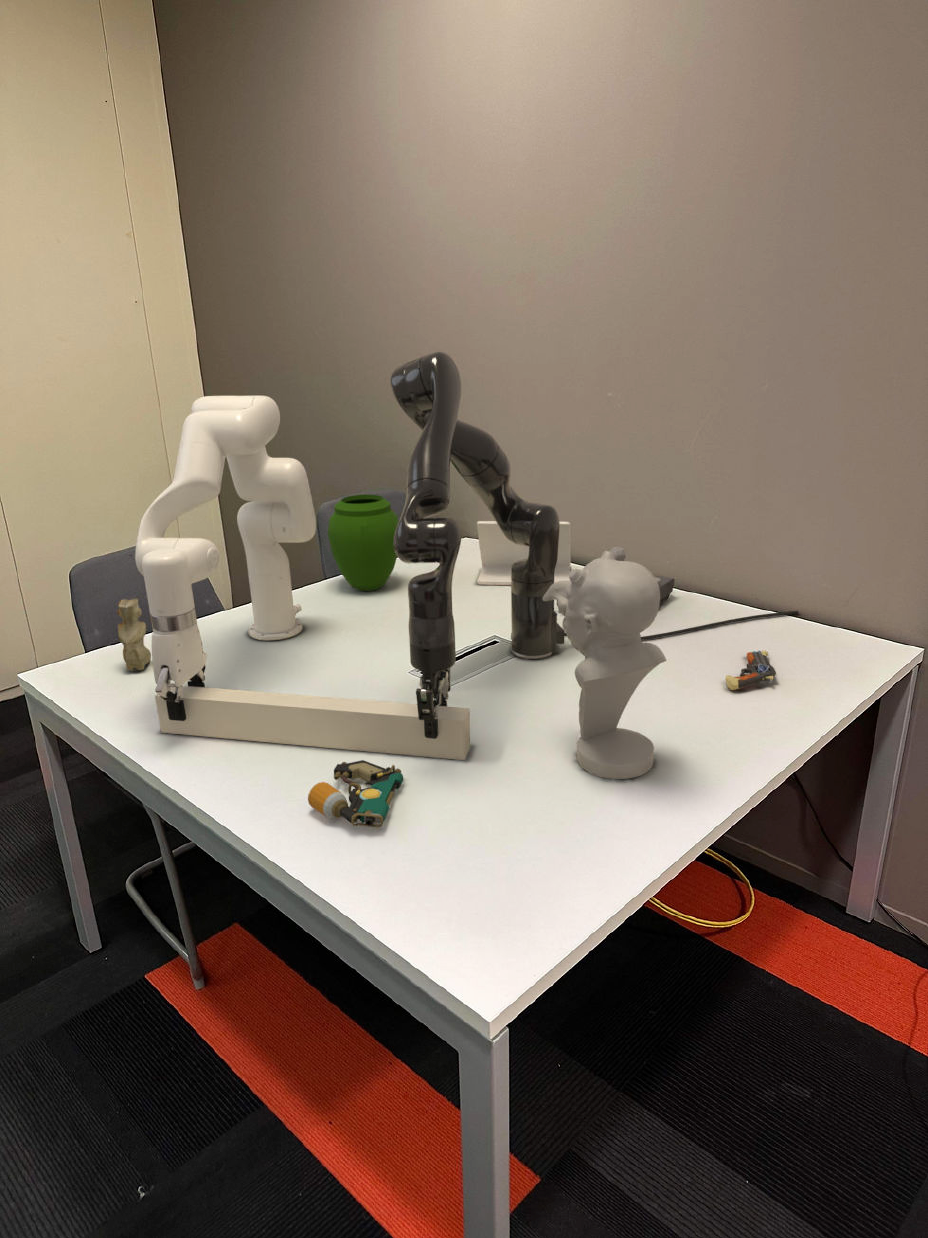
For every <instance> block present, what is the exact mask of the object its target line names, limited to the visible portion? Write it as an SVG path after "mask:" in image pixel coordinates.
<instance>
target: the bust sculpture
mask: <svg viewBox="0 0 928 1238" xmlns="http://www.w3.org/2000/svg"><path fill="white" fill-rule="evenodd" d="M594 559H595V558H594ZM594 559H593V560H592V562H591V561H590V562H588V563H587V564H586V565H585V566H584V567H583V568H582V569H581V568H580V569H578V568H573V569H570V573H569V578H570V581H568V580H563V581H557V582H555V583H554V584H552V585H551V586H550V588H549V589H548V591H547V592H546V594H545V595H544V596H543V601H550V600H554V601H555V600H556V602H557V601H558V606H557V609H558V611H559V612H560V614H561V615H562V616H564V618H563V619H562V622H561V623H562V625H561V627H562V629H563V630H564V631H565V633H566V635H567V636H566V638H567V639H568V641H570V643H571V645H572V646H573V647H574V648H575V649H576V650H577V651H578V652H579V653H580V654H581V655H582V656H584V659H582V661H580V662H579V663H578V664H577V665H576V667H575V669H574V677H575V679H576V682H577V684H578V686H579V687H580V689H581V690H580V694H579V701H578V709H579V710H578V723H579V728H580V729H579V733H580V737H579V738H578V740H577V742H576V761H577V763H578V765H579V766H580V767H581V769H583V770H585V771H586V772H587V773H589V774H592V775H595V776H598V777H601V778H606V779H613V780H624V779H625V780H626V779H632V778H633V779H634V778H637V777H640V776H642V775H644V774H646V773H648V772H649V771H650V770H651V769H652V768H653V766H654V757H655V745H654V743H653V742H652V740H650V738H649V737H647V736H646V735H644V734H642V733H641V732H638V731H635V730H631V729H628V728H622V727H618V725H619V722H620V720H621V717H622V715H623V713H624V711H625V710H626V707H627V705H628V703H629V702H630V699H631V698H632V696H633V695H634V693H635V691H636V690H637V688H638V687H639V685H640V684H641V683H642V681H643V680H644V679H645V677H647V675H648V674H649V673H651V672H652V671H653V670H654V669H655V668H657V667H658V666H660V665H661V664H662V663H664V662H667V658H666V656H665V654H664V652H663V651H662V649H661V648H660V647H659V645H657V644H654V643H651V642H643V640H641V637H642V636H641V633H643V632H644V631H646V630H647V629H648V628H649V627H650V626H652V624H653V623H654V621H655V619H656V617H657V615H658V613H659V608H660V605H661V604H660V589H659V585H658V583H657V581H656V579H655V577H656V576H654V575H653V573H652V572H651V571H650V570H649V569H648V568H647V567H645V566H644V565H642V564H641V563H637V562H634V561H627V560H624V561H617V560H615V557H614V555H613V553H612V552H610V550H604V551H603V552H602V555H601V557H599V558H597V557H596V559H595V560H594ZM659 604H660V605H659Z"/></svg>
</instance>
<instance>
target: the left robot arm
mask: <svg viewBox="0 0 928 1238" xmlns="http://www.w3.org/2000/svg"><path fill="white" fill-rule="evenodd" d="M190 410H191V413H190V414H189V415H188V416H187V417H186V418H185V420H184V422H183V424H182V429H181V435H180V440H179V446H178V452H177V457H176V463H175V467H174V468H175V469H174V476H173V480H172V482H171V484H170V485H168V487H167V488H165V489H164V490H163V491H162V492H161V493H160V494H159V495H158V496H157V497H156V498H155V499H154V500H153V501H152V502H151V504H150V505H149V506H148V508H147V509H146V511H145V512H144V513H143V516H142V518H141V520H140V524H139V527H138V533H137V538H136V545H135V554H134V557H135V565H136V569H137V570H138V573H140V574H141V575H142V576H143V580H144V586H145V592H146V599H147V603H148V609H149V615H150V621H151V627H152V628H151V629H152V634H151V660H152V670H153V676H154V677H153V678H154V682H155V685H156V686H155V690H154V691H155V693H156V694H159V695H160V696H161V698H163V700H164V701H166V705H167V711H168V717H169V719H170V720H176V721H185V720H186V713H185V707H184V701H183V700H181V691H182V686H184V684H186V683H187V686H192V687H204V688H206V685H205V681H206V675H205V672H206V664H207V659H208V654H207V653H206V652H205V651H204V646H203V640H202V636H201V632H200V629H199V625H198V619H197V613H196V607H195V606H196V605H195V600H194V594H193V592H194V591H193V587H192V585H193V584H195V583H198V582H202V581H204V580H206V579H208V578H210V577H211V576H212V575H213V574H215V572H216V570H217V568H218V566H219V562H220V554H219V550H218V548H217V546H216V545H215V543H214V542H212V541H211V540H209V539H206V538H201V537H164V536H165V533H166V532H167V529H168V528H169V526H171V524H172V523H173V522H174V521H176V520H177V519H178V518H179V517H181V516H183V515H184V514H187V513H188V512H190V511H192V510H194V509H196V508H199V507H201V506H203V505H206V504H208V503H209V502H211V501H214V500H215V499H216V498H217V497H218V496H219V495H220V493H221V488H222V480H223V474H224V468H225V463H226V460H227V464H228V469H229V472H230V476H231V479H232V484H233V487H234V489H235V491H236V494H237V496H238V497H239V498H240V499H241V500H244V501H247V502H246V503H244V504H243V505H241V506H240V508H239V509H238V511H237V514H236V522H237V528H238V532H239V535H240V538H241V541H242V544H243V549H244V554H245V560H246V566H247V576H248V583H249V591H250V599H251V600H250V601H251V608H252V615H253V624H251V625H250V626H249V627H248V635H249V637H251V638H253V639H255V640H259V641H278V640H279V641H281V640H285V639H289V638H291V637H294V636H296V635H298V634H300V633H301V632H302V630H303V623H302V622H301V621H300V620H299V619H296V615H297V614H298V613H300V612H301V611H302V610H303V609H302V606H301V604H299V603H296V604H295V605H294V596H293V587H292V578H291V577H292V576H291V567H290V559H289V557H288V555H287V553H286V551H285V549H284V548H283V547H282V546H281V544H283V543H286V544H287V543H288V544H296V543H298V544H299V543H307V542H309V541H311V540H312V539H313V538H314V537H315V534H316V531H317V519H316V512H315V508H314V507H315V506H314V502H313V497H312V493H311V488H310V483H309V479H308V474H307V471H306V469H305V467H304V465H303V464H302V462H300V460H298V459H296V458H293V457H271V456H270V455H269V454H268V452H267V449H266V446H267V445H268V443H269V442H271V441H272V440H273V438H275V436H276V435H277V433H278V432H279V427H280V424H281V413H280V409H279V406H278V404H277V403H276V401H275V400H274V399H273V398H271V397H270V396H268V395H206V396H201V397H198V398H197V399H195V400H194V402H193V403H192V405H191V409H190ZM171 681H173V682H174V683H172V682H171ZM171 687H176V689H175V694H174V693H173V692H171V691H170V688H171Z"/></svg>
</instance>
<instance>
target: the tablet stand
mask: <svg viewBox="0 0 928 1238" xmlns="http://www.w3.org/2000/svg"><path fill="white" fill-rule="evenodd" d="M559 526H560V528H559V544H558V559H557V564H556V567H555V572H554V583H555V582H557V581H563V580H568V581H570V578H569V573H570V571H571V565H572V564H571V560H572V558H571V522H569V521H559ZM476 531H477V537H478V544H479V551H480V557H481V558H480V559H481V570H480V573H479V575H478V577H477V580H476V581H477V582H476V584H478V585H484V586H485V585H486V586H487V585H489V586H490V585H491V586H511V567H512V565H513V563H515V562H516V561H519V560H522V559H526V558H528V555H529V547H528V546H523V545H519V544H515V543H513V542H511V541H510V540H508V539H507V538H506V537H505V535H504V534H503V532H502V531H501V529H500V528H499V526H498V524H497V523H496V521H495V520H477V522H476Z"/></svg>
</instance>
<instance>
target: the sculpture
mask: <svg viewBox="0 0 928 1238" xmlns="http://www.w3.org/2000/svg"><path fill="white" fill-rule="evenodd" d="M117 606H118V608H119V609H117V610H116V615H118V616H119V617H121V619H122V622H120V623H118V625H117V635H118V641H119V643H121V644H122V646H123V649H122V659H123V661H124V663H125V667H126V670H127V671H128V672H129V671H134V670H135V668H136V669H137V671H140V670H141V671H142V670H144V669H145V665H147V664H149V663H150V661H151V660H152V652H151V650H149V649H148V648H147V647H146V646H145V644H144V643H145V642H144V641H145V639H144V638H145V635H146V633H147V625H146V623H145V622H144V621H141V620H139V618H140V617H141V616H142V614H143V613H142V609H141V607H140V605H139V598H138V597H137V598H136V597H135V598H132V599H127V598H123V599H120V600H119V602H118V605H117Z"/></svg>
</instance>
